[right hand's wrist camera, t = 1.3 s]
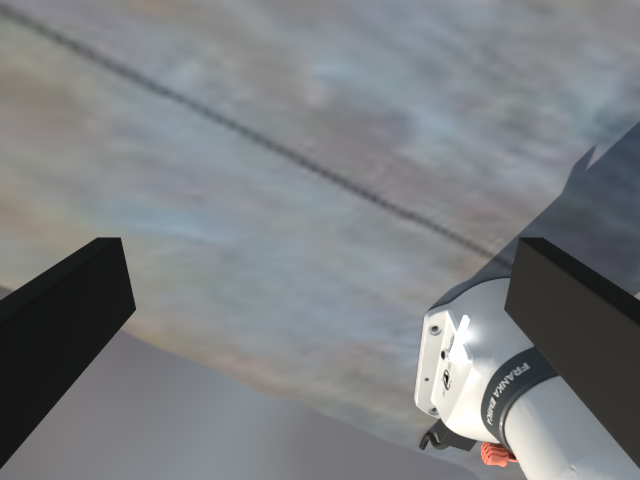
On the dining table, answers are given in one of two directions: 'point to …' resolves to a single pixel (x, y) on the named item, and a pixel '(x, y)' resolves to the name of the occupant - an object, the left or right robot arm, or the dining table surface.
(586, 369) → the right robot arm
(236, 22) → the dining table surface
